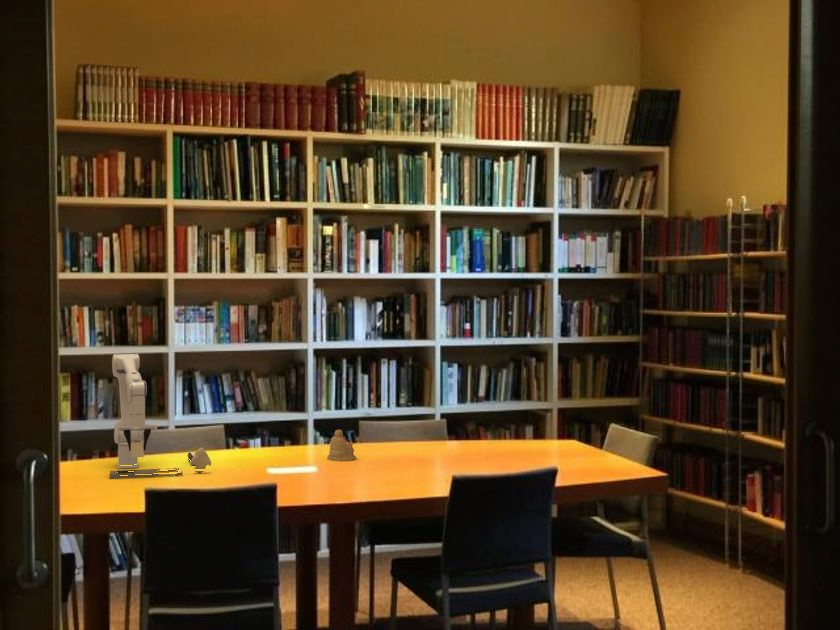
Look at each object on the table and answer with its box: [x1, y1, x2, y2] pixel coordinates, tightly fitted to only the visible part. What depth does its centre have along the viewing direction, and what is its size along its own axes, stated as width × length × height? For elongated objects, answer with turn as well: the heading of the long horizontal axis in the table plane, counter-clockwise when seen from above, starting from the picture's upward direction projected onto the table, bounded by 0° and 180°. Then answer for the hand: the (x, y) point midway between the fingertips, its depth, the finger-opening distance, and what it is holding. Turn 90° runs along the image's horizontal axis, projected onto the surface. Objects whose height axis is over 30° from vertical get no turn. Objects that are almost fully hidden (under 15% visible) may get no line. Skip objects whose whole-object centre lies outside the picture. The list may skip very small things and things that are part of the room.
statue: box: [327, 429, 357, 463], centre depth 435 cm, size 12×14×10 cm
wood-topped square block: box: [131, 439, 145, 458], centre depth 398 cm, size 4×4×6 cm
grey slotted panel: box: [109, 467, 183, 480], centre depth 399 cm, size 8×26×2 cm, turn 104°
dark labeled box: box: [187, 451, 197, 467], centre depth 422 cm, size 14×25×4 cm, turn 19°
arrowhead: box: [189, 447, 212, 473], centre depth 404 cm, size 8×3×10 cm, turn 104°
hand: (137, 450), depth 398 cm, fingers closed on wood-topped square block, 4 cm apart
